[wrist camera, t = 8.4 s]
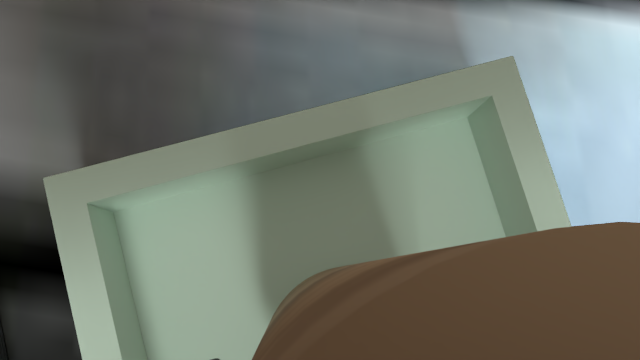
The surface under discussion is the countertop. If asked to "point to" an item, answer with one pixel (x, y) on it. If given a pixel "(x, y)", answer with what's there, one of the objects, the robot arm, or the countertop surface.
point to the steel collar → (2, 346)
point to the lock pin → (473, 302)
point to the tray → (292, 210)
